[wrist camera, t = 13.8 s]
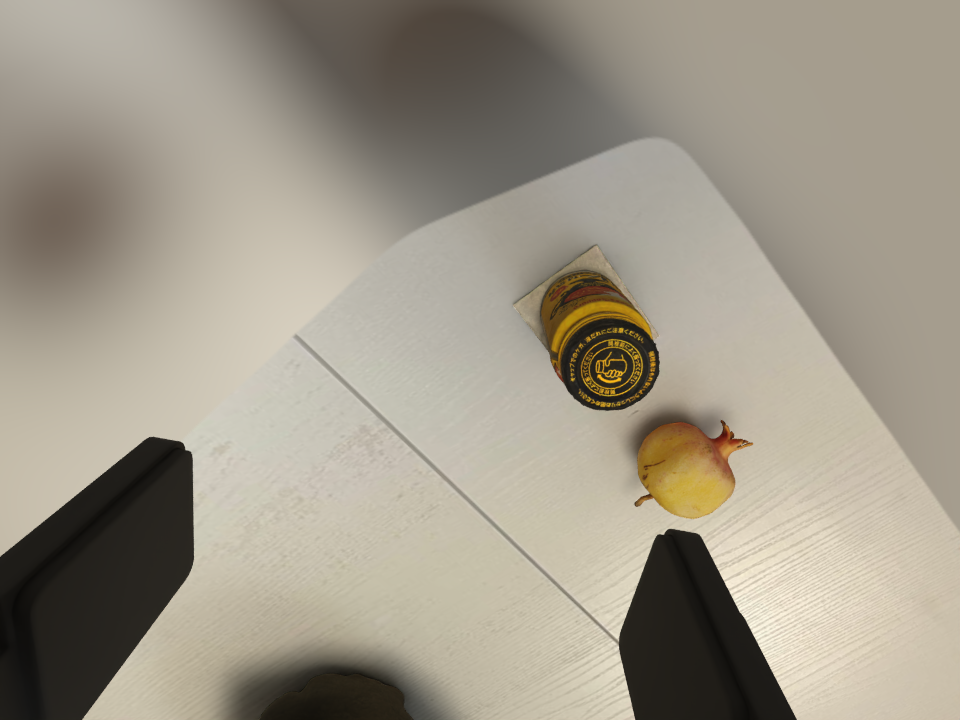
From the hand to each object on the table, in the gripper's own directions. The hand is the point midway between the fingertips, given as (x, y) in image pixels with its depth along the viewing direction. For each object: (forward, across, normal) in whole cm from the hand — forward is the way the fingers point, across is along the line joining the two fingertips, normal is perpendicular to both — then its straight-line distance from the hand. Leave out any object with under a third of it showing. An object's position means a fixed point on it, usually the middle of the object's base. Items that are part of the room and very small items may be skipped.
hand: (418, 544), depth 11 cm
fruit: (+31, -18, +12) cm, 37 cm away
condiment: (+31, -9, +3) cm, 32 cm away
